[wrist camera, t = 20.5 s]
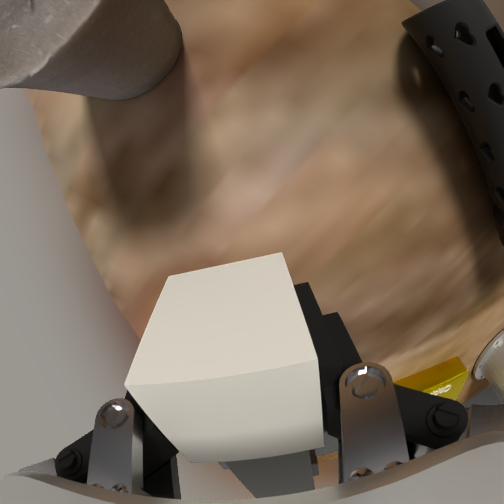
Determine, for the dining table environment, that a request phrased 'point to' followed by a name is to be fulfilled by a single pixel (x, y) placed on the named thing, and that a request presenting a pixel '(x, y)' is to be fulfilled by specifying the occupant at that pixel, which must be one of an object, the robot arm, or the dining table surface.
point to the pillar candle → (87, 46)
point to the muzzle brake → (470, 78)
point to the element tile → (439, 379)
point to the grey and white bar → (234, 374)
